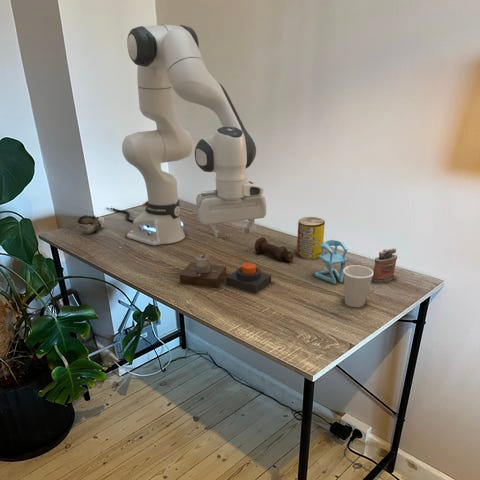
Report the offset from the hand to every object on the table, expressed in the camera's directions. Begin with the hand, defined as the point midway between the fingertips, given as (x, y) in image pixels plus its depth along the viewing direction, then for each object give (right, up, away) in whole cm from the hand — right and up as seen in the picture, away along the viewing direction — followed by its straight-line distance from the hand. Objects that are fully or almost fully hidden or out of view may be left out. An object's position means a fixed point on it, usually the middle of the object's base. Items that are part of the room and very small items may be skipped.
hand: (232, 235), depth 148 cm
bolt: (+14, -4, +25) cm, 29 cm away
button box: (+5, -14, +7) cm, 16 cm away
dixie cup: (+35, -20, -4) cm, 41 cm away
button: (+5, -10, +5) cm, 13 cm away
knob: (-9, -10, +9) cm, 16 cm away
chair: (+31, -12, +10) cm, 35 cm away
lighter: (+47, -13, +9) cm, 50 cm away
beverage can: (+27, -2, +28) cm, 39 cm away
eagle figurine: (-57, +10, +50) cm, 76 cm away
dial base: (-9, -12, +10) cm, 19 cm away
